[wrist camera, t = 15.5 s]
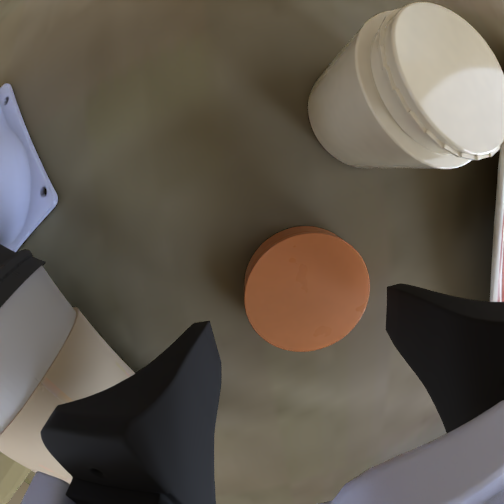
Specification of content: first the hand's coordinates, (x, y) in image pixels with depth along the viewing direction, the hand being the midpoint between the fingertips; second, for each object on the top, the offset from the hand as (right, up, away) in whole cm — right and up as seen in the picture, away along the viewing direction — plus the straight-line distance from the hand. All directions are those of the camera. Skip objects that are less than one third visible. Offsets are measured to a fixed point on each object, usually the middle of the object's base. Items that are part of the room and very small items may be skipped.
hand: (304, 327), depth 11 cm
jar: (+3, +9, +1) cm, 10 cm away
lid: (0, +1, +2) cm, 2 cm away
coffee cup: (-7, -10, +2) cm, 12 cm away
